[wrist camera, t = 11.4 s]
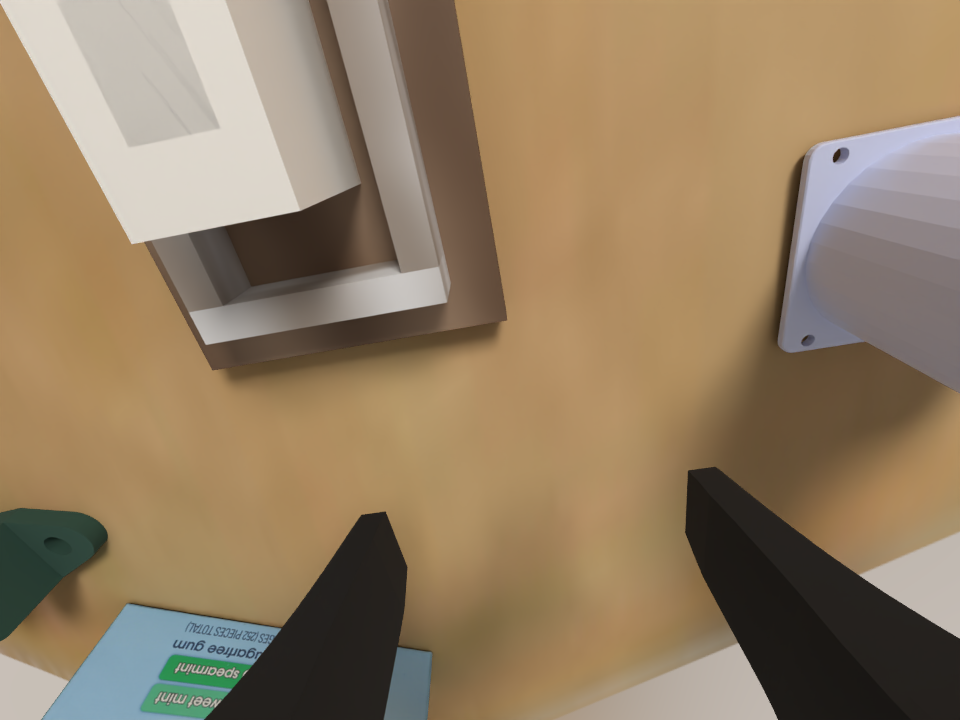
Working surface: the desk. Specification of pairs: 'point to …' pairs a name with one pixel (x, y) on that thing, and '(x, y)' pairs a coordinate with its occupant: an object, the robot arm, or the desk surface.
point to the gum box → (195, 669)
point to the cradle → (359, 209)
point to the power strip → (193, 106)
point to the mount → (40, 557)
